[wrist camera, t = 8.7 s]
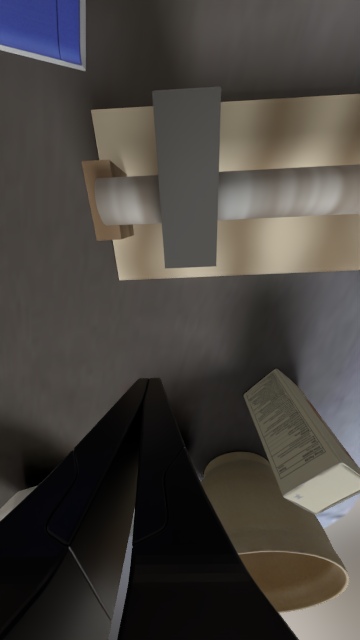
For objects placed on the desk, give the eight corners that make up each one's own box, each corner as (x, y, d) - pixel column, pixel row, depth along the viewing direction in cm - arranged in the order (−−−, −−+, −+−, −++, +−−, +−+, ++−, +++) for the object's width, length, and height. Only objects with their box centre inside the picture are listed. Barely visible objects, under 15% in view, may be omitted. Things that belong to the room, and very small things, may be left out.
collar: (202, 146, 14) (221, 86, 8) (202, 248, 17) (216, 266, 10) (165, 149, 14) (152, 90, 8) (170, 250, 17) (165, 268, 10)
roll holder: (435, 93, 14) (591, 16, 8) (376, 267, 18) (452, 286, 13) (94, 114, 14) (44, 52, 9) (121, 278, 19) (98, 300, 14)
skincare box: (266, 411, 26) (313, 517, 16) (241, 393, 24) (277, 497, 15) (302, 386, 24) (377, 488, 15) (277, 365, 23) (342, 463, 14)
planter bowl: (244, 413, 26) (283, 533, 16) (316, 470, 30) (380, 589, 21) (156, 471, 31) (145, 589, 21) (230, 512, 35) (248, 624, 26)
